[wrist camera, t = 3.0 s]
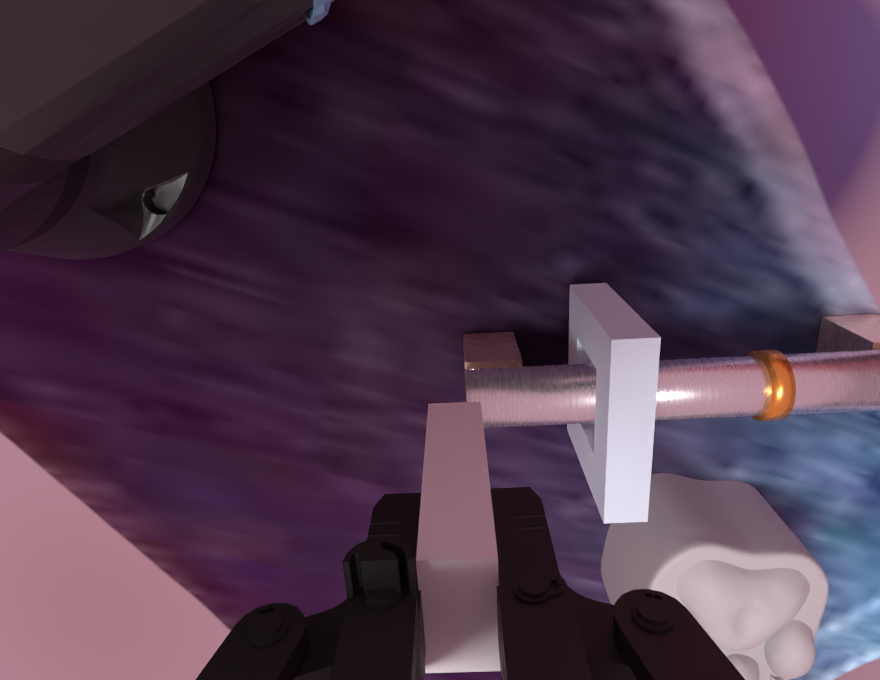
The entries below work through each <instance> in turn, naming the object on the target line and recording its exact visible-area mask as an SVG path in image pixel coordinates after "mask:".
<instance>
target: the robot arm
mask: <svg viewBox="0 0 880 680" xmlns="http://www.w3.org/2000/svg"><path fill="white" fill-rule="evenodd" d="M333 1H334V0H0V251H3V250H8V251H15V252H21V253H28V254H34V255H41V256H47V257H54V258H61V259H74V260H78V259H95V258H103V257H109V256H113V255H117V254H121V253H123V252H126V251H129V250H132V249H134V248H137V247H140V246H142V245H145V244H147V243H149V242H152V241H154V240H156V239H157V238H159V237H161V236H163V235H164V234H166V233H167V232H169V231H170V230H171V229H172V228H174V227H175V226H176V225H177V224H178V223H179V222H180V221H181V220H182V219H183V218H184V217H185V216H186V215H187V214H188V213H189V212H190V210H191V209H192V207H193V206H194V205H195V203H196V202H197V200H198V198H199V197H200V195H201V193H202V191H203V189H204V187H205V185H206V182H207V180H208V177H209V174H210V171H211V167H212V163H213V158H214V152H215V144H216V116H215V107H214V101H213V96H212V91H211V87H210V84H209V80H211V79H213V78H214V77H216V76H217V75H219V74H221V73H222V72H224V71H225V70H227V69H229V68H230V67H232V66H233V65H235V64H237V63H238V62H240V61H241V60H243V59H245V58H246V57H248V56H249V55H251V54H253V53H254V52H256V51H257V50H259V49H261V48H262V47H264V46H266V45H267V44H269V43H270V42H272V41H274V40H275V39H277V38H278V37H280V36H282V35H283V34H285V33H286V32H288V31H290V30H291V29H293V28H294V27H296V26H298V25H299V24H301V23H302V22H304V21H307V22H308V24H309V25H313V24H315V23H317V22H319V21H320V20H322V19H323V18H324V17H325V16H326V15H327V14H328V11H329V8H330V5H331V2H333ZM342 563H343V570H344V577H345V584H346V592H347V599H346V600H345V601H344V602H343V603H341V604H339V605H338V606H336V607H334V608H332V609H329V610H327V611H324V612H321V613H318V614H314V615H311V616H307V617H304V614H303V613H302V612H301V611H300V610H299V609H298V608H297V607H295V606H292V605H290V604H287V603H272V604H268V605H265V606H261V607H258V608H256V609H255V610H253V611H251V612H249V613H248V614H246V615H245V616H244V617H243V618H242V619H241V620H240V621H239V622H238V623H237V624H236V625H235V626H234V628H233V629H232V630H231V632H230V633H229V635H228V636H227V637H226V639H225V640H224V641H223V643H222V644H221V646H220V647H219V648H218V650H217V651H216V652H215V654H214V655H213V657H212V658H211V659H210V661H209V662H208V663H207V665H206V666H205V668H204V669H203V670H202V672H201V673H200V674H199V676H198V677H197V678H196V680H424V675H425V671H426V673H448V672H482V671H501V680H745V679H744V677H743V676H742V675H741V674H740V673H739V671H738V670H737V669H736V668H735V666H734V665H733V664H732V663H731V662H730V660H729V659H728V658H727V657H726V655H725V654H724V653H723V652H722V651H721V649H720V648H719V647H718V646H717V645H716V643H715V642H714V641H713V640H712V638H711V637H710V636H709V635H708V634H707V632H706V631H705V630H704V629H703V628H702V626H701V625H700V624H699V623H698V621H697V620H696V619H695V618H694V617H693V615H692V614H691V613H690V612H689V611H688V609H687V608H686V607H685V606H684V605H682V604H681V603H680V602H679V601H678V600H677V599H675V598H673V597H671V596H669V595H667V594H665V593H663V592H660V591H655V590H650V589H636V590H631V591H629V592H626V593H624V594H622V595H621V596H620V597H619V598H618V600H617V601H616V602H615V605H612V604H608V603H603V602H599V601H595V600H592V599H588V598H585V597H583V596H581V595H580V594H578V593H576V592H574V591H573V590H572V589H571V588H569V587H568V586H567V584H566V582H565V580H564V579H563V578H562V577H561V575H560V573H559V569H558V565H557V561H556V557H555V553H554V549H553V545H552V541H551V536H550V532H549V529H548V524H547V520H546V517H545V512H544V508H543V504H542V500H541V498H540V497H539V496H538V495H537V494H536V493H535V492H534V491H533V490H532V489H531V488H530V487H518V488H493V489H490V482H489V473H488V464H487V455H486V445H485V436H484V427H483V418H482V409H481V402H459V403H437V404H428V415H427V428H426V440H425V453H424V466H423V478H422V491H421V493H404V494H384V496H383V497H382V498H381V499H380V500H379V502H378V503H377V504H376V505H375V506H374V508H373V513H372V517H371V525H370V527H369V532H368V537H367V540H366V541H364V542H362V543H360V544H357V545H356V546H355V547H353V548H352V549H351V550H350V551H349V552H347V554H346V556H345V558H344V560H343V562H342Z"/></svg>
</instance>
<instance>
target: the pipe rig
mask: <svg viewBox="0 0 880 680" xmlns="http://www.w3.org/2000/svg"><path fill="white" fill-rule="evenodd" d="M463 346H464V367H465V386H466V402H481V409H482V418H483V427H484V428H489V427H512V426H534V425H557V424H580V423H595V404H596V375H597V370H596V368H595V366H594V365H593V363H587V364H566V365H545V366H524V367H522V358H521V355H520V351H519V348H518V345H517V342H516V339H515V335H514V332H494V333H474V334H463ZM876 410H880V316H878V315H876V314H860V315H840V316H822V318H821V324H820V330H819V336H818V342H817V348H816V353H799V354H783V353H781V352H780V351H778V350H757V351H750V352H748V353H747V354H746V355H745V356H735V357H714V358H693V359H672V360H659V371H658V385H657V399H656V413H655V420H671V419H694V418H717V417H739V416H751V417H752V418H754V419H755V420H758V421H765V420H782V419H785V418H787V417H788V416H789V415H790V414H808V413H831V412H853V411H876Z"/></svg>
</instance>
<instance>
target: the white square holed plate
mask: <svg viewBox="0 0 880 680" xmlns="http://www.w3.org/2000/svg"><path fill="white" fill-rule="evenodd" d="M660 344H661V337H660V336H659V335H658V334H657V333H656V332H655V331H654V330H653V329H652V328H651V327H650V326H649V325H648V324H647V323H646V322H645V321H644V320H643V319H642V318H641V317H640V316H639V315H638V314H637V313H636V312H635V311H634V310H633V309H632V308H631V307H630V306H629V305H628V304H627V303H626V302H625V301H624V300H623V299H622V298H621V297H620V296H619V295H618V294H617V293H616V292H615V291H614V290H613V289H612V288H611V287H610V286H609V285H608V284H607V283H593V284H573V285H570V295H569V355H568V364H587V363H593V365H594V366H595V368H596V370H597V375H596V404H595V423H580V424H567V430H568V433H569V435H570V438H571V441H572V443H573V446H574V448H575V451H576V453H577V456H578V459H579V461H580V464H581V466H582V469H583V471H584V474H585V477H586V479H587V482H588V484H589V487H590V489H591V492H592V495H593V497H594V500H595V502H596V505H597V507H598V510H599V513H600V515H601V518H602V520H603V523H629V522H648V509H649V495H650V482H651V468H652V454H653V440H654V426H655V413H656V399H657V385H658V371H659V357H660Z"/></svg>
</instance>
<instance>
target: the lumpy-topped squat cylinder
mask: <svg viewBox="0 0 880 680" xmlns="http://www.w3.org/2000/svg"><path fill="white" fill-rule="evenodd" d="M601 575H602V579H603V582H604V585H605V588H606V591H607V594H608V597H609V600H610V603H611V604H612V605H615V602H616V601H617V600H618V598H619V597H620V596H621V595H622V594H624V593H626V592H629V591H631V590H636V589H650V590H655V591H660V592H663V593H665V594H667V595H669V596H671V597H673V598H675V599H677V600H678V601H679V602H680V603H681V604H682V605H684V606H685V607H686V608H687V609H688V611H689V612H690V613H691V614H692V615H693V617H694V618H695V619H696V620H697V621H698V623H699V624H700V625H701V626H702V628H703V629H704V630H705V631H706V632H707V634H708V635H709V636H710V637H711V638H712V640H713V641H714V642H715V643H716V645H717V646H718V647H719V648H720V649H721V651H722V652H723V653H724V654H725V655H726V657H727V658H728V659H729V660H730V662H731V663H732V664H733V665H734V666H735V668H736V669H737V670H738V671H739V673H740V674H741V675H742V676H743V677H744V679H745V680H790V679H793V678H797V677H800V676H802V675H804V674H806V673H807V672H808V671H809V670H810V668H811V667H812V665H813V662H814V659H815V644H814V638H815V635H816V633H817V630H818V628H819V625H820V620H821V617H822V615H823V612H824V609H825V605H826V602H827V596H828V581H827V578H826V575H825V573H824V571H823V570H822V568H821V567H820V565H819V564H818V562H817V561H816V560H815V559H814V558H813V556H812V555H811V554H810V553H809V552H808V551H807V549H806V548H805V547H804V546H803V544H802V543H801V542H800V541H799V539H798V538H797V537H796V536H795V535H794V533H793V532H792V531H791V530H790V529H789V527H788V526H787V525H786V524H785V523H784V522H783V520H782V519H781V518H780V517H779V516H778V514H777V513H776V512H775V511H774V510H773V509H772V507H771V506H770V505H769V504H768V503H767V501H766V500H765V499H764V498H763V497H762V495H761V494H760V493H759V492H758V491H757V490H756V489H755V488H754V487H753V486H751V485H750V484H748V483H745V482H741V481H734V480H722V481H704V480H697V479H692V478H688V477H684V476H680V475H676V474H670V473H658V474H653V475H651V482H650V495H649V509H648V522H629V523H611V525H610V527H609V530H608V534H607V537H606V541H605V545H604V550H603V555H602V562H601Z"/></svg>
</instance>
